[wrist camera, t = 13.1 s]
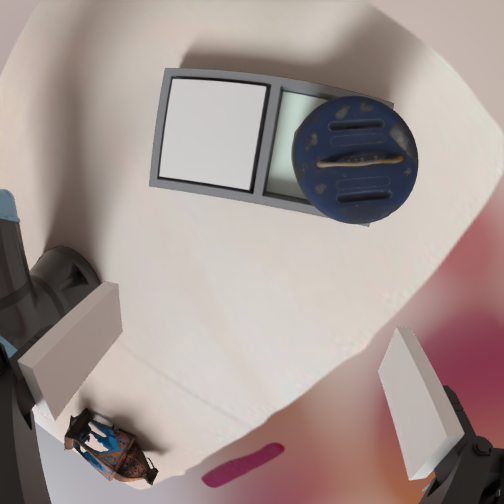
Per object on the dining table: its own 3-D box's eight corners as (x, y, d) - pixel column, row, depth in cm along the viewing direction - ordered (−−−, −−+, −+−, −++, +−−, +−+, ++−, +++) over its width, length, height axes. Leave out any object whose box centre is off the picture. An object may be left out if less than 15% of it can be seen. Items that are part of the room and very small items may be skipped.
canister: (295, 109, 34) (298, 77, 17) (372, 122, 33) (436, 107, 16) (287, 186, 37) (282, 222, 20) (362, 197, 36) (415, 241, 19)
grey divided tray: (161, 182, 40) (144, 187, 35) (176, 74, 35) (161, 66, 30) (362, 219, 38) (372, 229, 34) (385, 107, 33) (398, 102, 28)
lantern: (92, 400, 69) (170, 448, 69) (69, 443, 62) (146, 490, 61) (74, 402, 55) (168, 461, 55) (47, 452, 47) (140, 511, 47)
